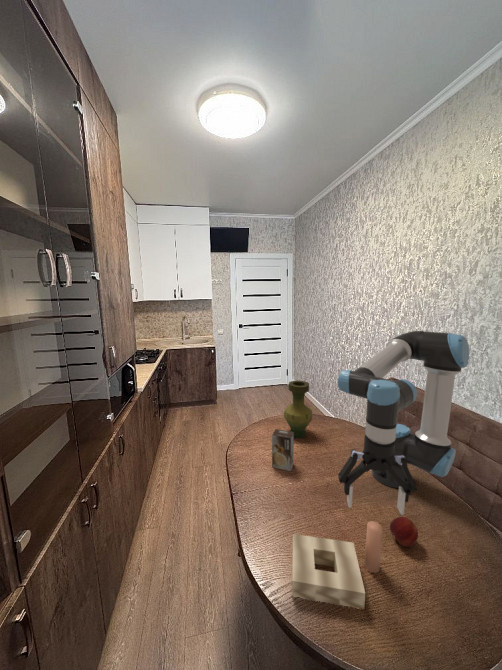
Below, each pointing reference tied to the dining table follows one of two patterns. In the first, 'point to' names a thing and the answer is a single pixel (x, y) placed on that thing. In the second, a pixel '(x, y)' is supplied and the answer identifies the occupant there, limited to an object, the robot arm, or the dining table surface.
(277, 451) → the coffee box
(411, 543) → the apple
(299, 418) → the vase
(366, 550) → the peg
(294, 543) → the socket block
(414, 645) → the dining table surface
